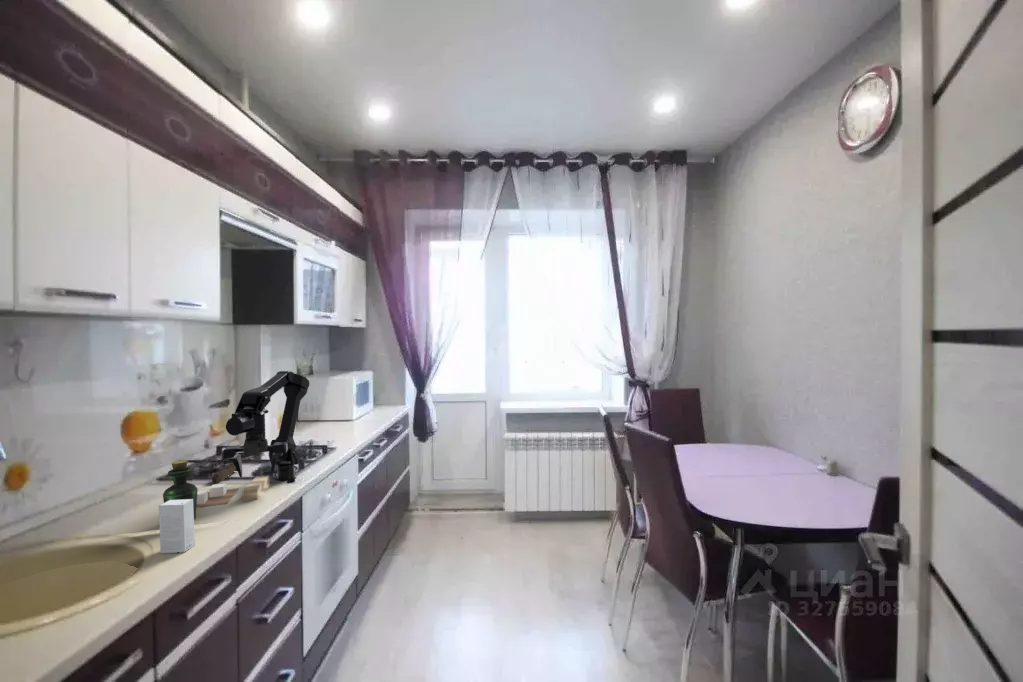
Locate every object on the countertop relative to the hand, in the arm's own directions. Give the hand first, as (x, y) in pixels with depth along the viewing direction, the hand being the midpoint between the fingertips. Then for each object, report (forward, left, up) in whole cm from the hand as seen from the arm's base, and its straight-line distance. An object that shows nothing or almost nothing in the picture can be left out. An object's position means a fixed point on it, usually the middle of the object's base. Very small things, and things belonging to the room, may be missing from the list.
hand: (256, 475), depth 157 cm
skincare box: (+37, -12, -7) cm, 40 cm away
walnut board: (0, -14, -7) cm, 16 cm away
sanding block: (0, 0, -7) cm, 7 cm away
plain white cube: (-3, -12, -6) cm, 14 cm away
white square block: (+3, -16, -6) cm, 17 cm away
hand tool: (-25, -15, -7) cm, 30 cm away
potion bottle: (+19, -16, -7) cm, 26 cm away
